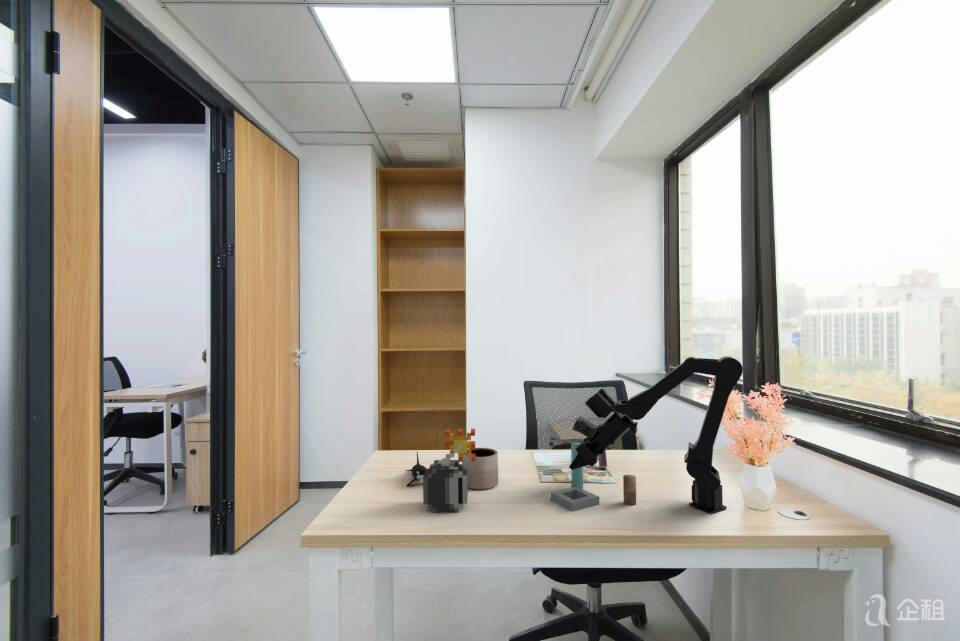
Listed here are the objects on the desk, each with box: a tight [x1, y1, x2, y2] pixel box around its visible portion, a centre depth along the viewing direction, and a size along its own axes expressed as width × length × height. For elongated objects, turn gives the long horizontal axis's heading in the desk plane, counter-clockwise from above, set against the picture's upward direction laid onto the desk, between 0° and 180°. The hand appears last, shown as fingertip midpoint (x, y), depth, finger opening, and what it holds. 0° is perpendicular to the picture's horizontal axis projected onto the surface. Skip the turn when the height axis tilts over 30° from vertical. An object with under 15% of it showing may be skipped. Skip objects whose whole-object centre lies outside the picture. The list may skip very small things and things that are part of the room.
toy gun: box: [598, 449, 608, 469], centre depth 160 cm, size 2×21×10 cm, turn 175°
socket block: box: [550, 486, 600, 512], centre depth 122 cm, size 9×9×2 cm
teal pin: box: [570, 442, 584, 490], centre depth 132 cm, size 3×3×13 cm
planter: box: [461, 447, 499, 491], centre depth 137 cm, size 11×11×10 cm
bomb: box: [422, 428, 476, 514], centre depth 120 cm, size 8×13×20 cm, turn 90°
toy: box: [404, 451, 427, 487], centre depth 143 cm, size 21×10×10 cm, turn 19°
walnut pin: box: [622, 474, 637, 507], centre depth 121 cm, size 3×3×7 cm
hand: (572, 465), depth 132 cm, fingers open, 5 cm apart
